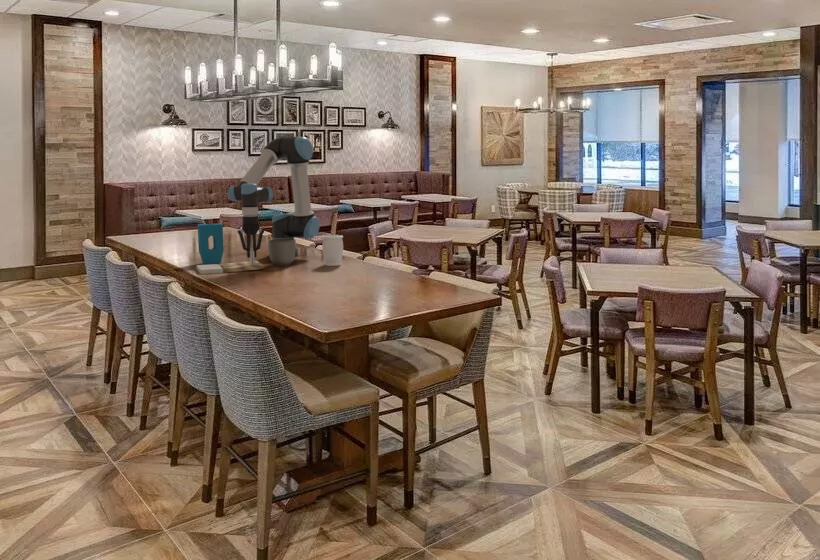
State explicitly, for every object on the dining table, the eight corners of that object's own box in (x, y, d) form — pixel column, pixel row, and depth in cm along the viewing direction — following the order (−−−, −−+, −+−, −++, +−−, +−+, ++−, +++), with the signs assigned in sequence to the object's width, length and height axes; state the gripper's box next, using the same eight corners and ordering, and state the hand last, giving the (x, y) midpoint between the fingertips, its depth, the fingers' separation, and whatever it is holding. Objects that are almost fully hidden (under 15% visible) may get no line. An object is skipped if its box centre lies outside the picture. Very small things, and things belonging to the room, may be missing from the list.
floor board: (218, 268, 379) (218, 263, 378) (224, 272, 365) (223, 268, 365) (196, 269, 374) (196, 265, 374) (201, 274, 361) (201, 269, 360)
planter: (273, 268, 379) (272, 242, 377) (264, 264, 391) (264, 239, 389) (300, 266, 386) (299, 240, 383) (290, 262, 398) (290, 237, 395)
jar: (346, 264, 393) (346, 235, 390) (338, 267, 383) (337, 237, 381) (327, 262, 396) (327, 234, 394) (319, 265, 387) (318, 236, 384)
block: (201, 264, 389) (199, 225, 386) (198, 263, 394) (197, 224, 390) (224, 263, 395) (223, 224, 391) (222, 261, 399) (220, 223, 396)
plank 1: (256, 264, 386) (256, 260, 385) (259, 266, 380) (259, 262, 380) (220, 267, 379) (220, 263, 378) (222, 269, 373) (222, 265, 373)
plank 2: (260, 266, 378) (260, 262, 378) (263, 268, 372) (262, 264, 372) (223, 270, 371) (223, 266, 371) (225, 272, 365) (225, 268, 365)
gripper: (262, 214, 375) (264, 262, 379) (234, 215, 369) (236, 264, 373) (265, 215, 368) (267, 264, 372) (237, 216, 363) (239, 266, 367)
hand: (252, 264), depth 373 cm, fingers closed, pressing on plank 2
